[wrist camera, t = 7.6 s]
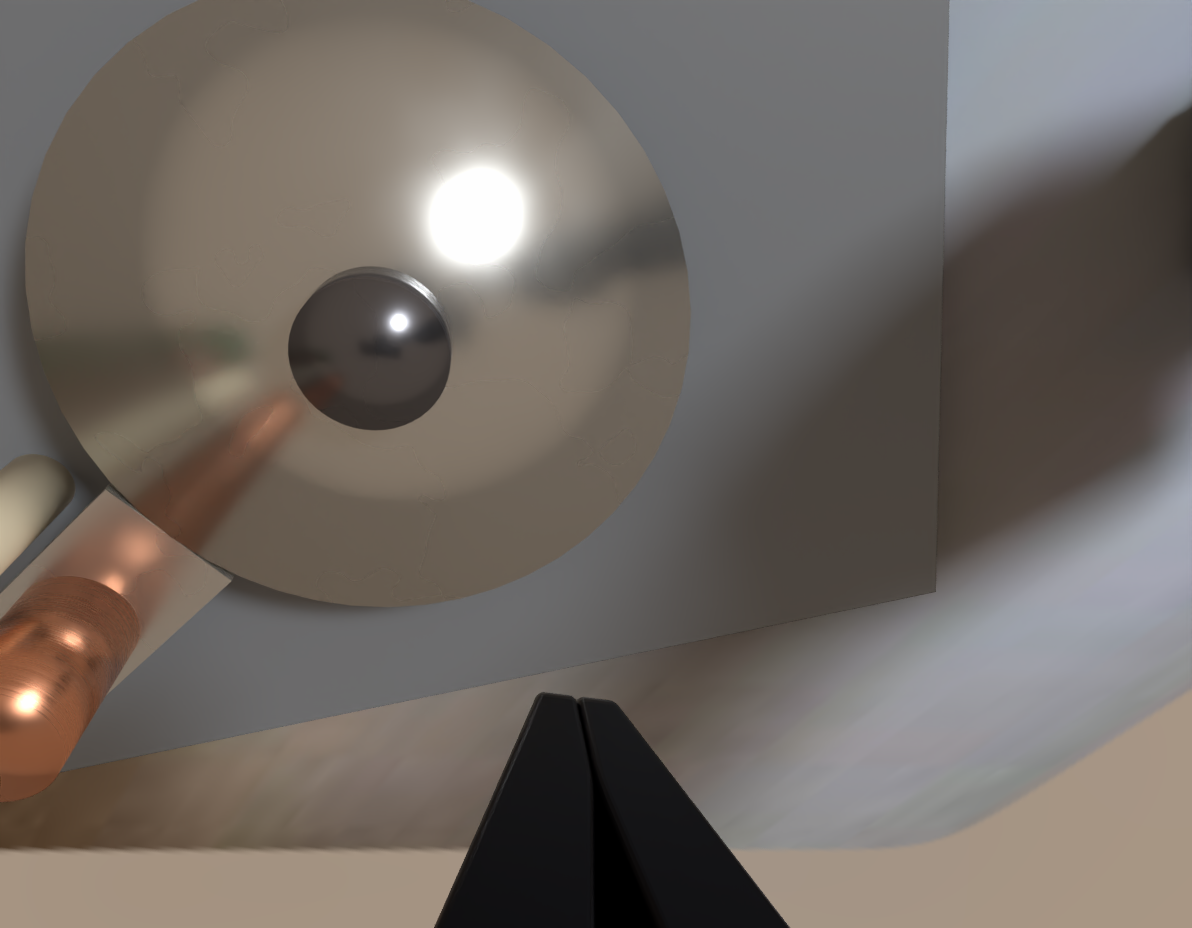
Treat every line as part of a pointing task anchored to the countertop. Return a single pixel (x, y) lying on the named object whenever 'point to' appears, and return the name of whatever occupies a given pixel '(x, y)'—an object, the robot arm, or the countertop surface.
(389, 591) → the flange plate
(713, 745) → the countertop surface
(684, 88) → the slate board
